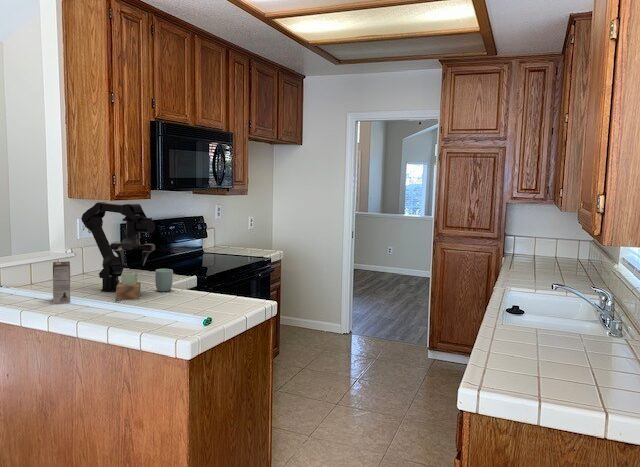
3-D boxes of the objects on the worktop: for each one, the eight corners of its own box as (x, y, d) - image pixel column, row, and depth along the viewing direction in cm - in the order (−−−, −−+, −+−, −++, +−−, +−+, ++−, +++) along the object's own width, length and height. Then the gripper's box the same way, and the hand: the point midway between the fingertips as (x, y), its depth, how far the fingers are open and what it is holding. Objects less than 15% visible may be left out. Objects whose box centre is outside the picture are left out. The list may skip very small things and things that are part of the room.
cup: (167, 293, 227) (167, 272, 226) (152, 291, 228) (152, 270, 227) (175, 289, 235) (175, 269, 234) (160, 288, 236) (160, 268, 235)
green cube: (122, 285, 213) (122, 274, 213) (125, 283, 218) (125, 272, 218) (133, 285, 214) (133, 274, 213) (137, 283, 219) (137, 272, 218)
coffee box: (52, 299, 207) (52, 261, 206) (69, 297, 210) (69, 261, 209) (53, 304, 199) (52, 265, 198) (70, 302, 202) (70, 264, 201)
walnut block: (116, 300, 211) (116, 286, 210) (119, 295, 219) (119, 282, 219) (138, 299, 213) (138, 286, 212) (140, 295, 222) (140, 282, 221)
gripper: (104, 232, 212) (104, 267, 214) (147, 234, 213) (147, 269, 214) (114, 230, 223) (114, 263, 225) (155, 231, 224) (155, 265, 225)
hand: (132, 265), depth 222 cm, fingers open, 9 cm apart
